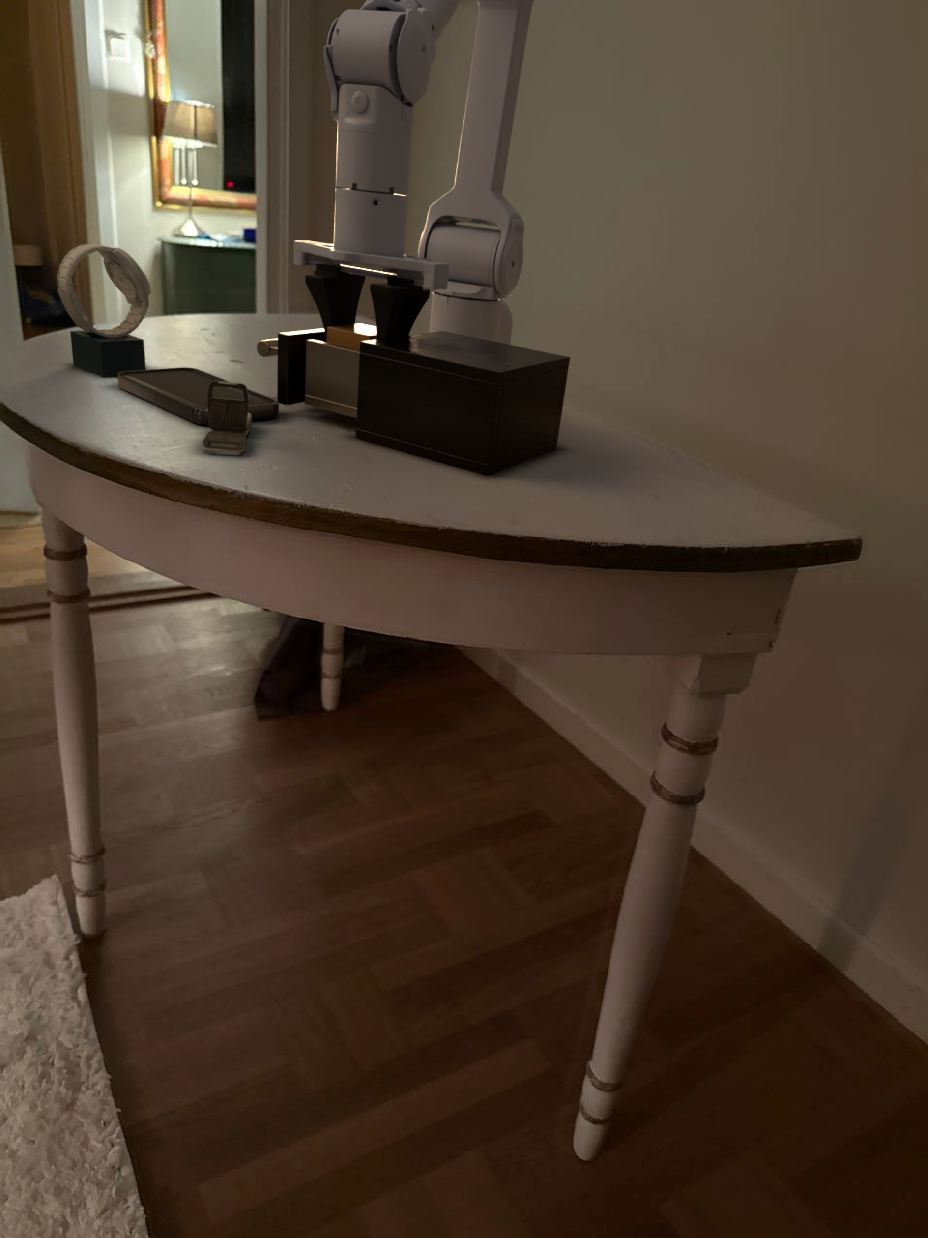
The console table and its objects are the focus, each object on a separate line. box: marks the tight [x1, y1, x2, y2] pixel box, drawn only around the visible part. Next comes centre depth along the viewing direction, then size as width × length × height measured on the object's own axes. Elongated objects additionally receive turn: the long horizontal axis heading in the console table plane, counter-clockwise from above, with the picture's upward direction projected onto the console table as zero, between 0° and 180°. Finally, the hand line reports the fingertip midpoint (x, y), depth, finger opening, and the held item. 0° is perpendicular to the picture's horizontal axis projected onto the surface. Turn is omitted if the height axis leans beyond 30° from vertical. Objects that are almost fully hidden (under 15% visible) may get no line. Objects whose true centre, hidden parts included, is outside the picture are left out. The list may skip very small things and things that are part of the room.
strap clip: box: [202, 381, 253, 454], centre depth 66 cm, size 8×3×4 cm, turn 8°
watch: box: [56, 243, 152, 378], centre depth 82 cm, size 6×8×11 cm
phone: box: [116, 366, 280, 426], centre depth 76 cm, size 8×1×15 cm
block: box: [327, 322, 376, 350], centre depth 75 cm, size 4×4×4 cm
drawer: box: [256, 327, 360, 419], centre depth 76 cm, size 16×10×6 cm, turn 58°
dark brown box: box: [355, 331, 571, 476], centre depth 71 cm, size 13×12×8 cm
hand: (363, 366), depth 75 cm, fingers closed on block, 4 cm apart
